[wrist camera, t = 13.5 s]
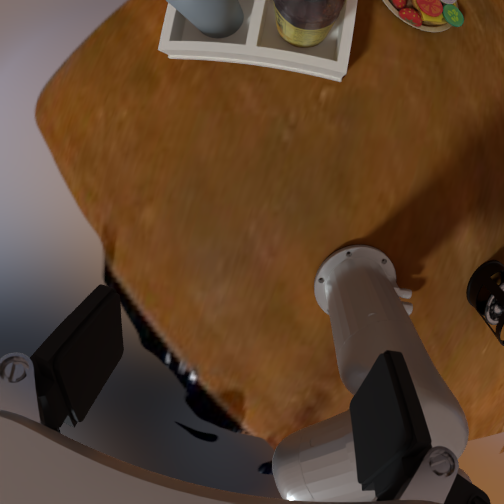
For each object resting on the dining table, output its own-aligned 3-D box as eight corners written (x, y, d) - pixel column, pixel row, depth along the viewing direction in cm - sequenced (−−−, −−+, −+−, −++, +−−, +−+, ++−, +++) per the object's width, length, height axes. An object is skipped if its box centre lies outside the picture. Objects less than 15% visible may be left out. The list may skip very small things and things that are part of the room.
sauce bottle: (284, 2, 28) (281, -84, 10) (332, 16, 28) (371, -60, 10) (270, 44, 31) (255, -23, 13) (319, 59, 31) (354, 4, 13)
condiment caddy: (352, 3, 28) (389, -55, 12) (339, 81, 33) (378, 57, 18) (187, -16, 28) (135, -72, 13) (170, 58, 33) (102, 31, 18)
